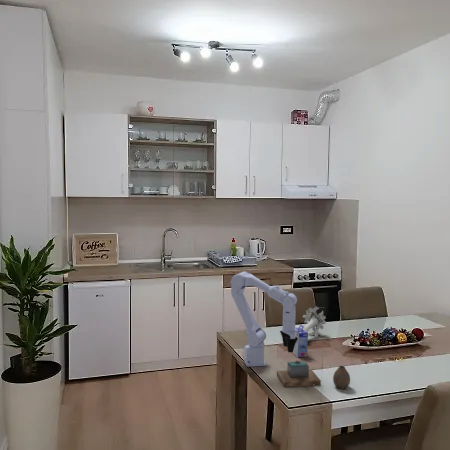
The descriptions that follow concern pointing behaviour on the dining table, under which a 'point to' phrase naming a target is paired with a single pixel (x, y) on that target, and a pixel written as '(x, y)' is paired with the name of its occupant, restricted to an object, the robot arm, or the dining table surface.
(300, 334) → the ink cartridge box
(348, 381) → the vase
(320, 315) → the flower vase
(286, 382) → the walnut stand
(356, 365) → the dining table surface
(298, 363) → the cover plate
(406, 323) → the dining table surface
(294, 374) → the gray teal block
